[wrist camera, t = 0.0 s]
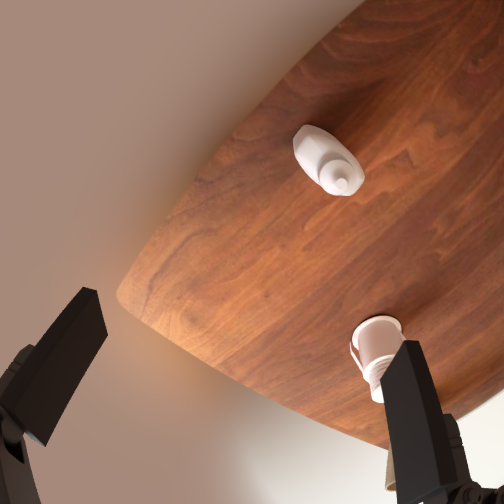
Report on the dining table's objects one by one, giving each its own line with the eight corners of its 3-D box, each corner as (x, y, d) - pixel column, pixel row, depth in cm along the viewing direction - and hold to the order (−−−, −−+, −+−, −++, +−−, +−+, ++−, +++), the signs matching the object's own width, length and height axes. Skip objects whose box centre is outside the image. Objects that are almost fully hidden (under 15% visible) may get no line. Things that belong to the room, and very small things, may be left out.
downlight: (406, 309, 35) (428, 367, 27) (401, 345, 39) (417, 401, 30) (348, 318, 37) (358, 380, 28) (348, 354, 40) (356, 412, 32)
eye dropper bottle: (312, 182, 29) (324, 236, 19) (288, 131, 27) (287, 155, 16) (352, 166, 28) (388, 212, 17) (329, 113, 25) (357, 126, 15)
